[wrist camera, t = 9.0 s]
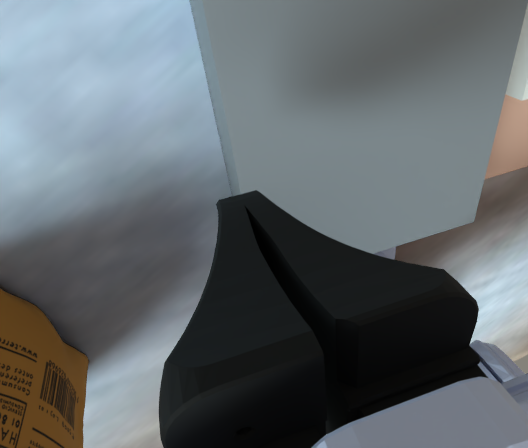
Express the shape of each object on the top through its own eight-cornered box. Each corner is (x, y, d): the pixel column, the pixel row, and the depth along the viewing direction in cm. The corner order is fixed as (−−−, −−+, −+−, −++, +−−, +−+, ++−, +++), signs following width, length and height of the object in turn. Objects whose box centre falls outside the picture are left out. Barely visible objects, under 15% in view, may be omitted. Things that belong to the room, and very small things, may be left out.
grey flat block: (434, 190, 28) (473, 222, 24) (243, 246, 26) (260, 289, 22) (514, -317, 14) (624, -390, 11) (127, -285, 12) (129, -364, 9)
